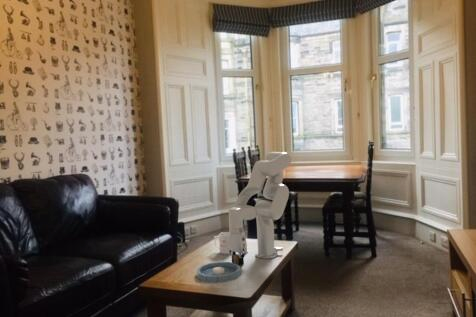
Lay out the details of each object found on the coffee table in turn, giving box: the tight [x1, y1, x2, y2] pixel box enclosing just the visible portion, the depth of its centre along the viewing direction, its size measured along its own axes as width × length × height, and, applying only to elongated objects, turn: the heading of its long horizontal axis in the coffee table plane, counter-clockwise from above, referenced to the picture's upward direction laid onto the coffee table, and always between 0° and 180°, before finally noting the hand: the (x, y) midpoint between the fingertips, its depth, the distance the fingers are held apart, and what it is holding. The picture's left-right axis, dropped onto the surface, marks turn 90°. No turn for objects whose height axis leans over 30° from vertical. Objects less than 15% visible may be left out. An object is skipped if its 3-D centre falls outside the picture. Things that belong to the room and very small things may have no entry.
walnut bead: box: [233, 253, 240, 267], centre depth 219 cm, size 4×4×5 cm
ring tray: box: [196, 261, 241, 283], centre depth 205 cm, size 21×21×3 cm
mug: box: [213, 231, 231, 255], centre depth 240 cm, size 12×9×11 cm
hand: (237, 263), depth 219 cm, fingers closed on walnut bead, 4 cm apart
